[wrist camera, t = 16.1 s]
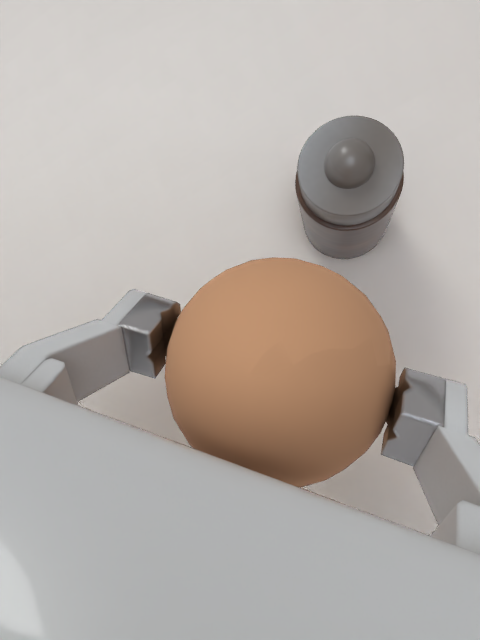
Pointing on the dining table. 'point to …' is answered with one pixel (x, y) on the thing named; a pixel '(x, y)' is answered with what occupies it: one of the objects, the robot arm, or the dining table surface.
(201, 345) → the egg
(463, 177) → the dining table surface
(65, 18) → the dining table surface
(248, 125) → the dining table surface
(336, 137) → the pepper shaker
